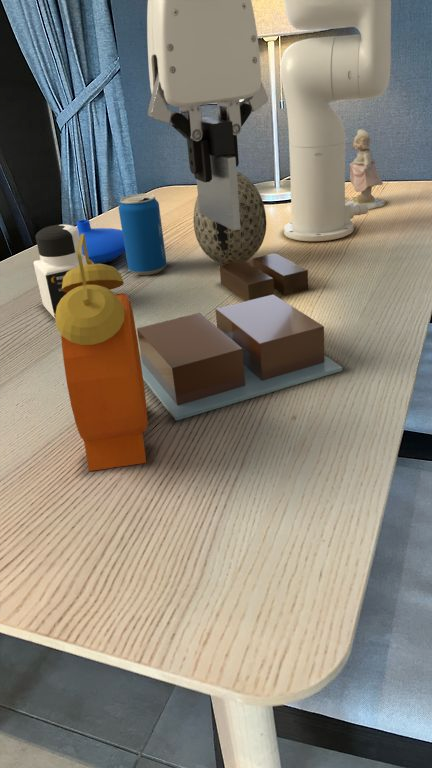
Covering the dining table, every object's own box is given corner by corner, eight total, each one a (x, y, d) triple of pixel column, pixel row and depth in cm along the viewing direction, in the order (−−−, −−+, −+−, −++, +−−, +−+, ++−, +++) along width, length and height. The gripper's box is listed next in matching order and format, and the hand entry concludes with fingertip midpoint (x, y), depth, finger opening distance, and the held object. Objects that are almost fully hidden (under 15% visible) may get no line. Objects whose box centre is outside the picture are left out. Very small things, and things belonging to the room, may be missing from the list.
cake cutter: (211, 211, 75) (202, 115, 70) (246, 228, 67) (239, 122, 62) (194, 214, 74) (184, 118, 69) (228, 232, 66) (219, 125, 62)
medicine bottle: (55, 320, 96) (37, 238, 90) (42, 305, 102) (24, 228, 96) (102, 308, 99) (87, 227, 93) (87, 294, 104) (72, 218, 99)
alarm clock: (153, 471, 61) (118, 261, 52) (85, 481, 61) (38, 271, 51) (147, 401, 73) (118, 218, 63) (90, 409, 72) (53, 226, 63)
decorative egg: (274, 251, 115) (269, 161, 107) (260, 275, 105) (254, 177, 98) (209, 252, 118) (200, 164, 111) (189, 275, 108) (178, 180, 101)
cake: (274, 323, 88) (273, 287, 86) (342, 371, 75) (342, 330, 72) (129, 362, 82) (123, 324, 79) (175, 421, 69) (169, 378, 66)
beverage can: (161, 276, 109) (151, 202, 103) (123, 277, 110) (111, 203, 104) (171, 263, 114) (162, 192, 108) (135, 264, 116) (124, 193, 110)
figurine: (319, 203, 138) (334, 126, 134) (349, 208, 144) (365, 135, 140) (360, 210, 130) (378, 129, 126) (390, 215, 137) (408, 138, 133)
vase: (100, 242, 130) (93, 205, 126) (151, 255, 119) (146, 215, 116) (28, 265, 120) (19, 227, 117) (78, 281, 110) (69, 239, 107)
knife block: (276, 271, 106) (275, 252, 104) (308, 289, 98) (308, 269, 96) (221, 284, 103) (219, 265, 101) (249, 304, 95) (248, 284, 93)
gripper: (258, -34, 65) (267, 161, 74) (100, -23, 60) (130, 185, 69) (296, -44, 59) (301, 170, 68) (123, -32, 54) (153, 197, 63)
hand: (215, 176), depth 68 cm, fingers closed on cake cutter, 2 cm apart
